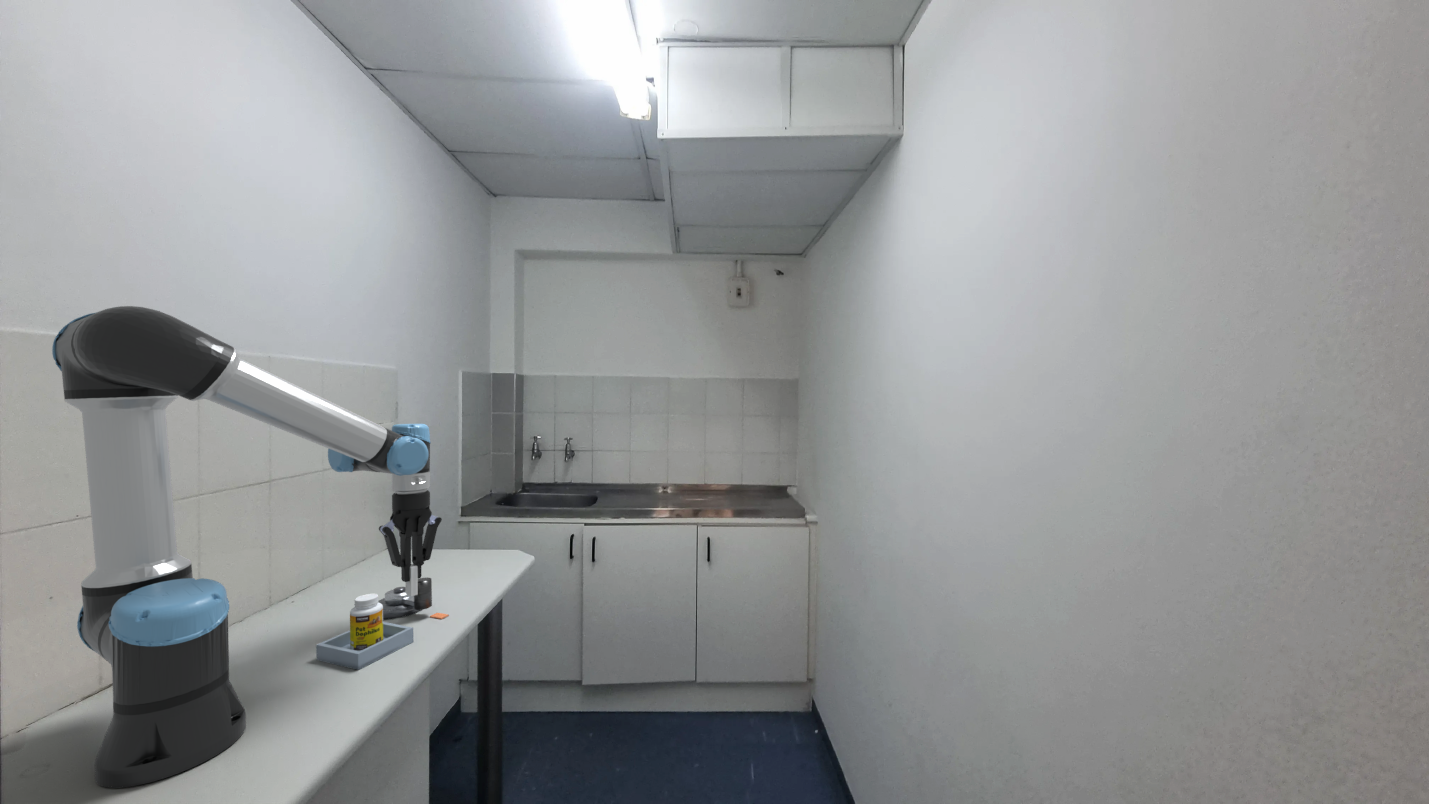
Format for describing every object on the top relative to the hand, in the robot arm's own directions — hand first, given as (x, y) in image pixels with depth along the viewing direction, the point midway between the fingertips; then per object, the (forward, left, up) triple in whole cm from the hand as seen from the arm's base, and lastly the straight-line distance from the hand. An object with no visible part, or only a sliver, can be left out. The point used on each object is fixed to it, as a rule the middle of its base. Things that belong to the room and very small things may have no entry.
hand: (411, 594), depth 118 cm
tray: (-13, -4, -6) cm, 15 cm away
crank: (+3, +4, -4) cm, 7 cm away
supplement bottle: (-13, -4, -6) cm, 15 cm away
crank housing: (+4, +8, -6) cm, 11 cm away
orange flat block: (+4, -4, -6) cm, 8 cm away
